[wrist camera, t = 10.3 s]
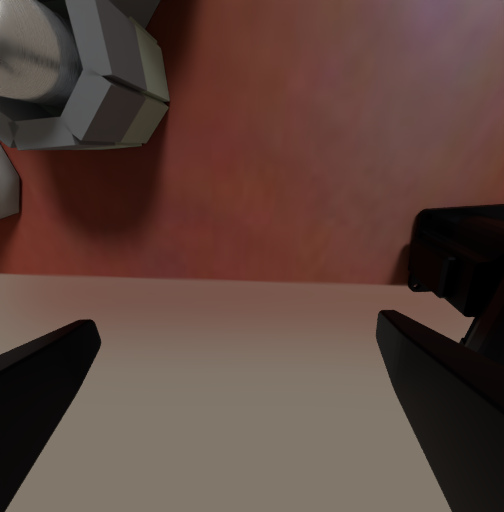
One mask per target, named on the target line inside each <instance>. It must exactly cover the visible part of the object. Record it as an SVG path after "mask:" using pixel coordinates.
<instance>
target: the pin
mask: <svg viewBox="0 0 504 512" xmlns="http://www.w3.org/2000/svg"><path fill="white" fill-rule="evenodd" d="M82 71H83V66H82V62H81V59H80V55H79V51H78V47H77V43H76V40H75V36H74V32H73V28H72V24H71V22H70V21H69V20H67V19H66V18H64V17H62V16H61V15H59V14H58V13H56V12H54V11H53V10H51V9H50V8H48V7H47V6H45V5H43V4H42V3H40V2H39V1H37V0H0V96H3V97H8V98H13V99H19V100H24V101H29V102H34V103H39V104H45V105H50V106H55V107H60V108H65V106H66V104H67V102H68V100H69V98H70V96H71V94H72V92H73V90H74V88H75V86H76V84H77V81H78V79H79V77H80V75H81V73H82Z"/></svg>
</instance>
